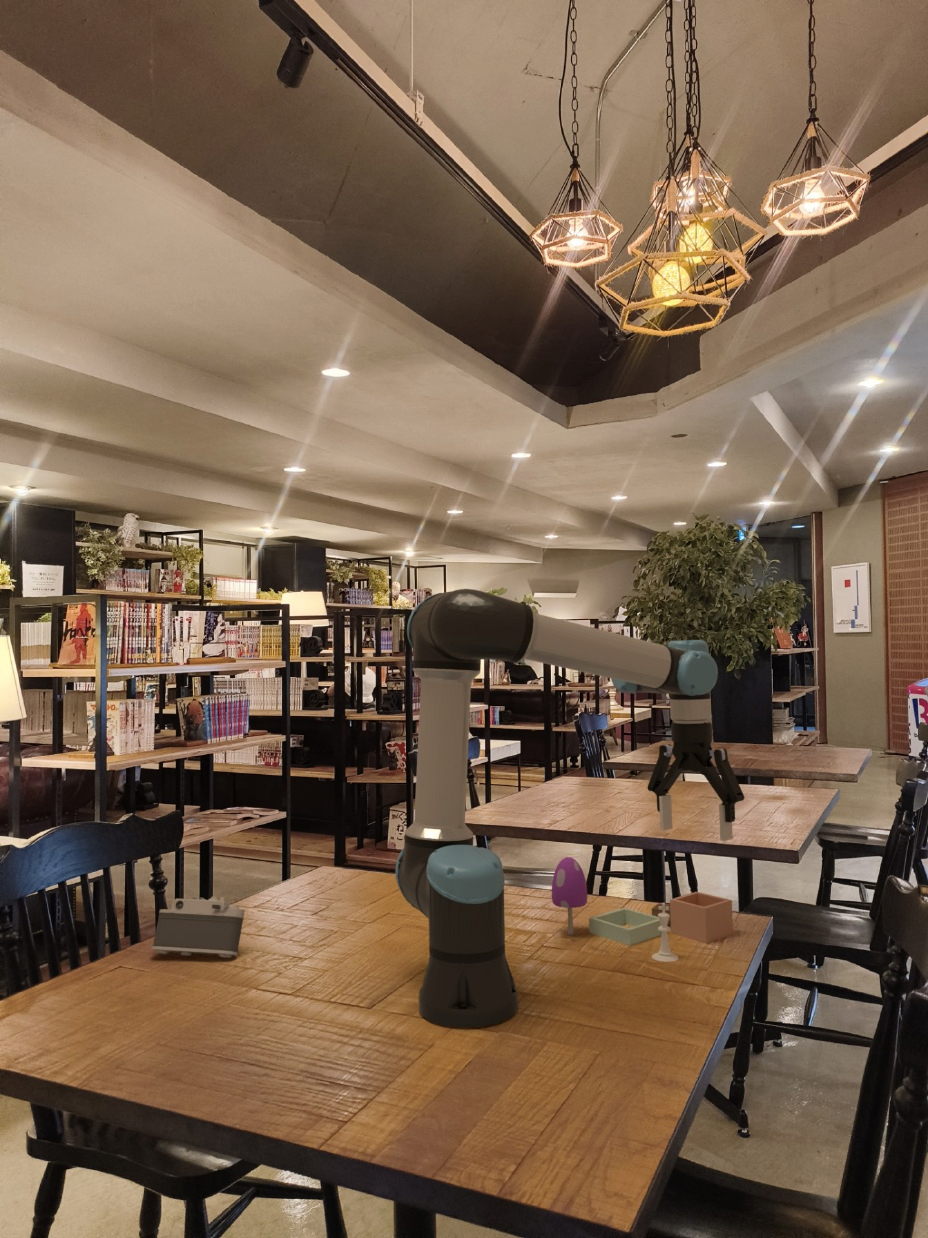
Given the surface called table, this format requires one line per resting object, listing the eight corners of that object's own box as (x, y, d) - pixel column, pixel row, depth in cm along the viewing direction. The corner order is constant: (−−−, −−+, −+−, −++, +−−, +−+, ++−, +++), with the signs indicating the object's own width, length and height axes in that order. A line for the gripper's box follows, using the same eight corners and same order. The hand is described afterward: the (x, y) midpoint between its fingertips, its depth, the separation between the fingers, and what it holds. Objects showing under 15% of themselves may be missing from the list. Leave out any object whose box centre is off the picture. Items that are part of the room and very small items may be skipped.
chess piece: (680, 967, 148) (678, 908, 149) (650, 966, 149) (649, 907, 150) (679, 957, 153) (677, 899, 154) (650, 956, 154) (648, 899, 155)
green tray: (629, 950, 158) (629, 930, 158) (589, 936, 165) (589, 918, 166) (665, 937, 164) (665, 919, 164) (625, 925, 172) (624, 907, 172)
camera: (231, 957, 155) (241, 896, 160) (145, 951, 157) (158, 892, 162) (248, 962, 163) (257, 904, 168) (166, 956, 165) (178, 900, 170)
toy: (590, 943, 162) (588, 861, 162) (554, 943, 162) (552, 862, 162) (586, 931, 168) (584, 853, 169) (551, 932, 169) (549, 854, 169)
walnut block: (672, 932, 167) (671, 911, 167) (652, 929, 169) (651, 908, 169) (679, 926, 171) (678, 906, 171) (659, 923, 173) (658, 903, 173)
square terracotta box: (706, 948, 158) (705, 908, 158) (671, 937, 164) (669, 899, 164) (733, 938, 163) (731, 900, 163) (697, 928, 169) (696, 891, 169)
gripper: (760, 722, 158) (765, 841, 157) (651, 717, 178) (655, 822, 177) (736, 725, 153) (741, 847, 153) (627, 720, 173) (631, 828, 172)
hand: (695, 834), depth 165 cm, fingers open, 13 cm apart
